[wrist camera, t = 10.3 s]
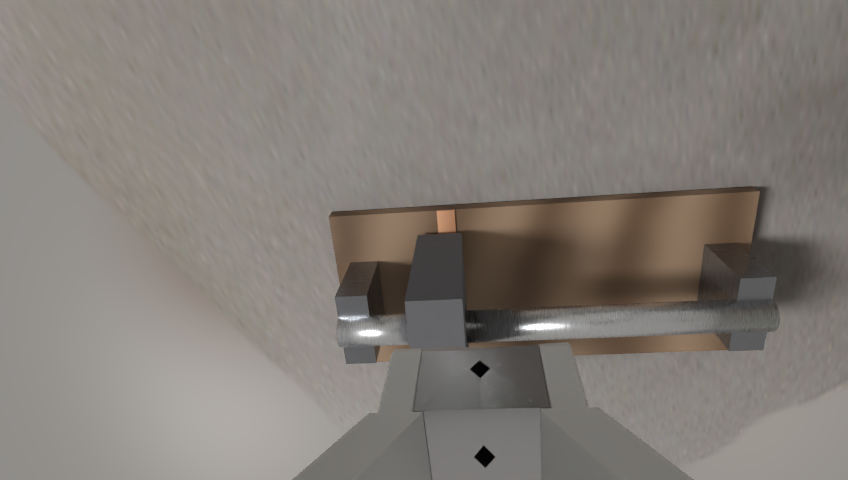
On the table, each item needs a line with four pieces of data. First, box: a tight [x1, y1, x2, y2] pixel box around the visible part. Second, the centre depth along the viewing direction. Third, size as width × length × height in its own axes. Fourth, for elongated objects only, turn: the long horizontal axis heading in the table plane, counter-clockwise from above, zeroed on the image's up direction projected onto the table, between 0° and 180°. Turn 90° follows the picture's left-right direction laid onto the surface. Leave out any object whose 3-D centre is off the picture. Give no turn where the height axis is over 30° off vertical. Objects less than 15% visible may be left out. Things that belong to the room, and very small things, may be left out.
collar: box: [404, 233, 469, 349], centre depth 33 cm, size 3×9×9 cm, turn 5°
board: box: [329, 187, 760, 362], centre depth 38 cm, size 28×12×1 cm, turn 95°
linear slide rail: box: [335, 243, 780, 364], centre depth 34 cm, size 26×5×6 cm, turn 95°
